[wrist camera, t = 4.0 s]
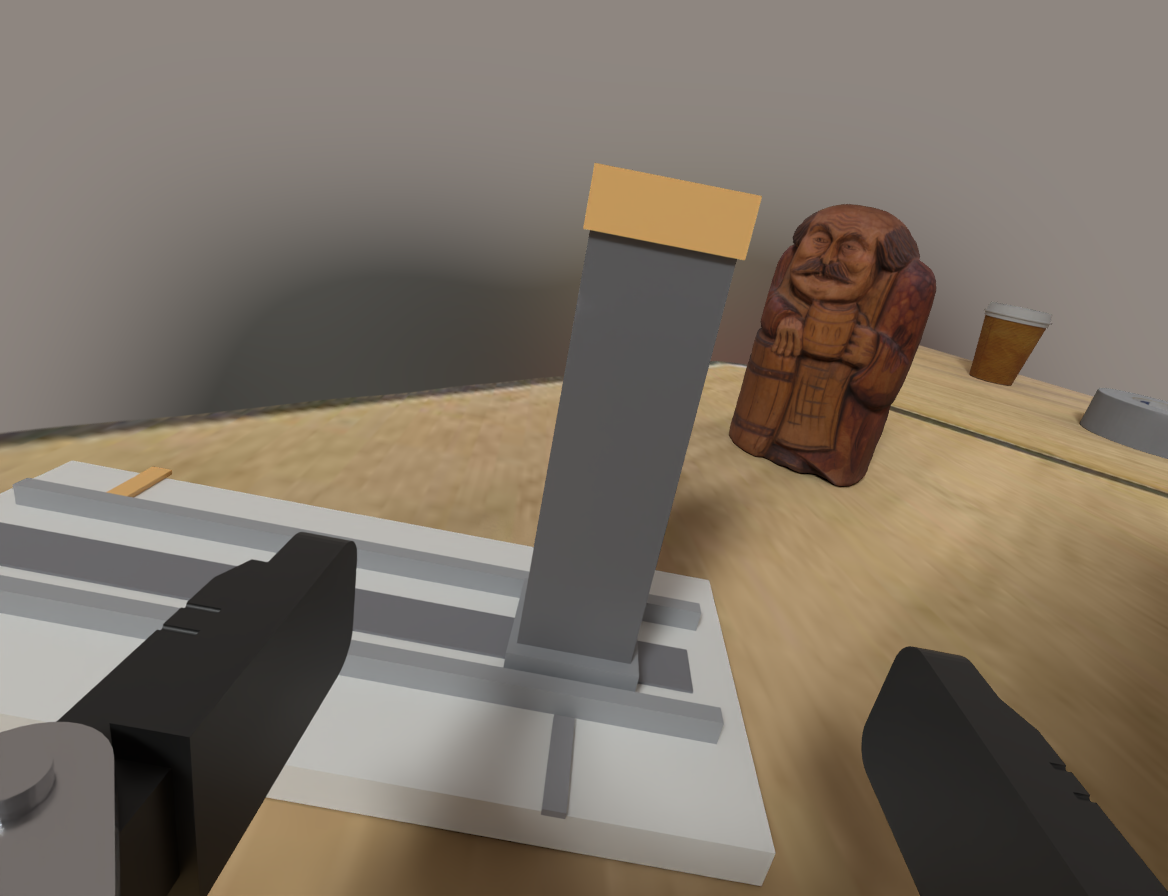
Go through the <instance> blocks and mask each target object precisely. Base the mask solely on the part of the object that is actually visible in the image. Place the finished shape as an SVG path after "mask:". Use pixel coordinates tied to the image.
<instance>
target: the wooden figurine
mask: <svg viewBox="0 0 1168 896" xmlns="http://www.w3.org/2000/svg"><path fill="white" fill-rule="evenodd" d="M793 243H794V245H792V246H790V247H789V248H788V249H787V250H786V251H785V252H784V253H783V255H782V257H781V258H780V260H779V262H778V264H777V267H776V270H775V274H774V277H773V280H772V283H771V287H770V290H769V293H768V297H767V300H766V304H765V307H764V310H763V314H762V318H761V327H762V328H760V329H759V330H758V332H757V335H756V338H755V341H754V345H753V348H752V353H751V355H750V359H749V362H748V365H747V368H746V372H745V376H744V380H743V384H742V387H741V391H740V394H739V398H738V401H737V405H736V408H735V412H734V416H733V418H732V421H731V425H730V431H729V436H730V437H731V438H732V441H733V442H734V443H735V444H736V445H737V446H738V447H740V448H741V449H743V450H744V451H746V452H748V453H750V454H752V455H754V456H758V457H765V458H767V459H769V460H771V461H773V462H774V463H776V464H778V465H782V466H787V467H789V468H790V469H792V470H794V471H797V472H799V473H812V474H817V475H819V476H821V477H823V478H825V479H827V480H828V481H830V482H832V483H833V484H835V485H837V486H851V485H852V484H854V483H857V482H858V481H859V480H860V479H862V478H863V477H864V476H865V474H866V472H867V469H868V466H869V463H870V461H871V459H872V456H873V453H874V450H875V448H876V445H877V443H878V441H879V439H880V437H881V434H882V432H883V428H884V425H885V423H886V420H887V417H888V413H889V410H890V406H891V404H892V403H893V402H894V400H895V398H896V396H897V395H898V393H899V391H900V389H901V387H902V385H903V383H904V381H905V379H906V376H907V373H908V371H909V369H910V367H911V364H912V361H913V359H914V356H915V354H916V351H917V349H918V346H919V344H920V341H921V338H922V335H923V331H924V329H925V326H926V323H927V320H928V317H929V313H930V311H931V307H932V304H933V300H934V296H935V293H936V280H935V276H934V274H933V272H932V270H931V269H930V268H929V267H928V266H926V265H925V264H924V263H923V262H921V261H920V260H919V258H920V254H919V250H918V247H917V244H916V242H915V240H914V239H913V237H912V236H911V233H910V231H909V230H908V229H907V227H906V226H905V225H904V224H903V223H902V222H901V221H900V220H898V219H897V218H896V217H895V216H893V215H892V214H890V213H888V212H886V211H883V210H880V209H876V208H872V207H866V206H861V205H851V204H846V205H845V204H842V205H836V206H832V207H828V208H825V209H822V210H820V211H818V212H816V213H814V214H812V215H811V216H809V217H808V218H806V219H805V220H804V221H803V223H802V224H801V225H799V227H798V228H797V229H796V231H795V233H794V236H793Z"/></svg>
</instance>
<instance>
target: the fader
mask: <svg viewBox="0 0 1168 896" xmlns="http://www.w3.org/2000/svg"><path fill="white" fill-rule="evenodd" d="M761 198H762V196H758V195H754V194H748V193H744V192H739V191H733V190H728V189H723V188H718V187H713V186H708V185H703V184H698V183H693V182H688V181H683V180H678V179H673V178H668V177H663V176H658V175H653V174H648V173H643V172H638V171H633V170H627V169H623V168H618V167H613V166H608V165H603V164H597V163H595V164H594V170H593V176H592V182H591V188H590V193H589V199H588V205H587V211H586V216H585V222H584V229H588V230H590V233H589V239H588V245H587V250H586V256H585V261H584V267H583V273H582V278H581V284H580V290H579V295H578V301H577V307H576V313H575V318H574V324H573V330H572V335H571V340H570V346H569V352H568V357H567V363H566V369H565V374H564V380H563V386H562V391H561V397H560V402H559V408H558V414H557V419H556V425H555V431H554V436H553V442H552V448H551V453H550V459H549V464H548V470H547V476H546V481H545V487H544V493H543V498H542V504H541V510H540V515H539V521H538V527H537V532H536V538H535V543H534V549H533V555H532V560H531V566H530V572H529V577H528V578H525V579H524V583H523V587H522V591H521V595H520V599H519V603H518V607H517V611H516V615H515V619H514V623H513V627H512V631H511V634H510V638H509V642H508V646H507V650H506V655H505V661H504V667H503V668H508V669H513V670H519V671H524V672H530V673H535V674H541V675H546V676H551V677H557V678H562V679H568V680H573V681H579V682H584V683H589V684H595V685H600V686H606V687H611V688H617V689H622V690H627V691H633V692H635V690H636V687H637V683H638V679H639V664H638V641H637V637H638V634H639V630H640V626H641V622H642V618H643V615H644V611H645V607H646V603H647V599H648V596H649V592H650V588H651V584H652V580H653V576H654V573H655V569H656V565H657V561H658V557H659V554H660V550H661V546H662V542H663V538H664V535H665V531H666V527H667V523H668V519H669V516H670V512H671V508H672V504H673V500H674V497H675V493H676V489H677V485H678V481H679V478H680V474H681V470H682V466H683V462H684V459H685V455H686V451H687V447H688V443H689V439H690V436H691V432H692V428H693V424H694V420H695V417H696V413H697V409H698V405H699V401H700V398H701V394H702V390H703V386H704V382H705V379H706V375H707V371H708V367H709V363H710V359H711V356H712V352H713V348H714V344H715V341H716V337H717V333H718V329H719V325H720V321H721V318H722V313H723V309H724V306H725V302H726V299H727V295H728V291H729V287H730V283H731V280H732V276H733V272H734V268H735V264H736V261H737V259H741V260H745V258H746V254H747V251H748V247H749V243H750V239H751V236H752V232H753V228H754V225H755V221H756V217H757V213H758V210H759V206H760V202H761Z"/></svg>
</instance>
